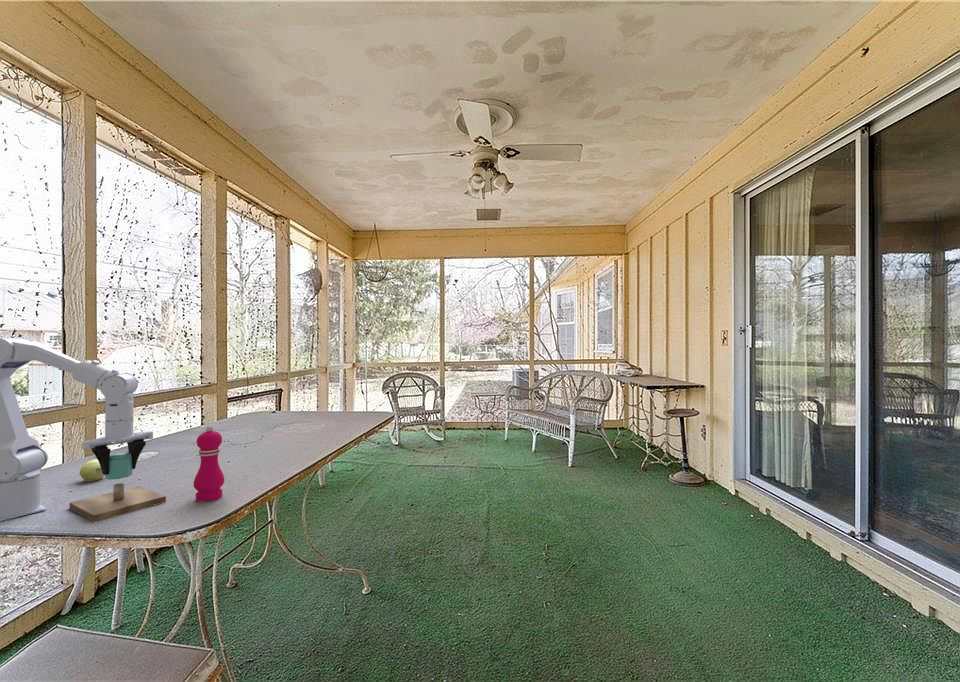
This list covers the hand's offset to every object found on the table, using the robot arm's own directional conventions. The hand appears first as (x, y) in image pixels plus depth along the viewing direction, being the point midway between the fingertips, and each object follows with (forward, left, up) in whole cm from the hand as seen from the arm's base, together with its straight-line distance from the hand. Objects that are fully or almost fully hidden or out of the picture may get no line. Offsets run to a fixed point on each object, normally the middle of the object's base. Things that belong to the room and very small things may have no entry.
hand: (119, 471), depth 112 cm
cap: (0, 0, -1) cm, 1 cm away
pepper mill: (+15, -15, -9) cm, 23 cm away
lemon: (+5, +33, -9) cm, 35 cm away
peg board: (0, 0, -9) cm, 9 cm away
